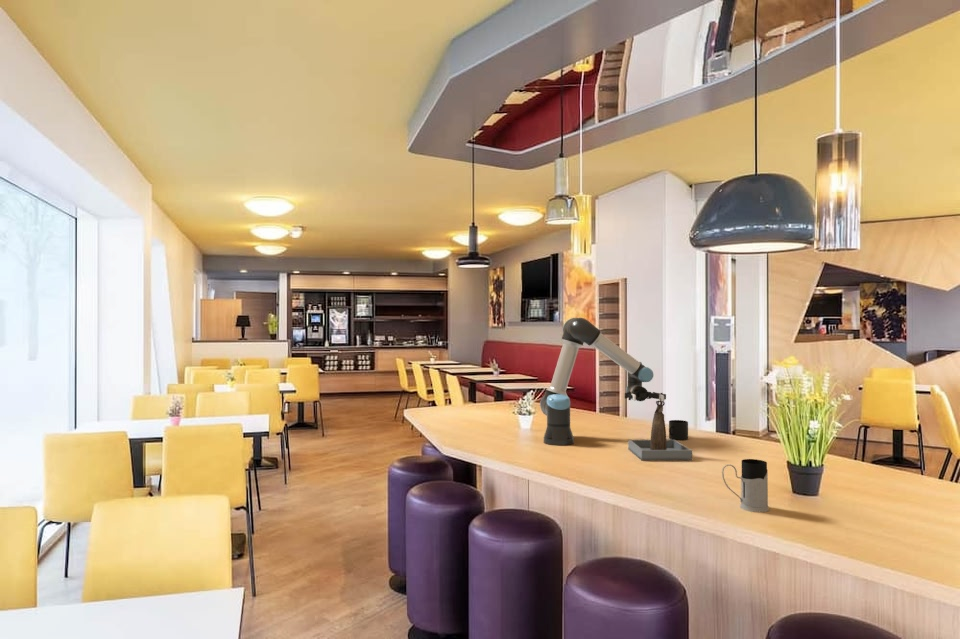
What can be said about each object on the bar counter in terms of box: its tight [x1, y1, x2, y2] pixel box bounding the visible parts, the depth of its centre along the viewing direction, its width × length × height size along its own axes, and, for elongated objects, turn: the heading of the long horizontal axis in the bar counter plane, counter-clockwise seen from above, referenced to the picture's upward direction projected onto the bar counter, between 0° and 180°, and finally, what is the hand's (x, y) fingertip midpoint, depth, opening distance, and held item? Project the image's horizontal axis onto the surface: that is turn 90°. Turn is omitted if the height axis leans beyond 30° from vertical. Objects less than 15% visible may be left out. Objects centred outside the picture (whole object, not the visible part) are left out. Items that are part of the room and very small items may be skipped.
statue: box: [650, 398, 667, 450], centre depth 275 cm, size 9×8×25 cm
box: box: [627, 439, 693, 462], centre depth 275 cm, size 22×24×4 cm
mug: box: [668, 419, 689, 442], centre depth 312 cm, size 9×12×9 cm
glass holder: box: [721, 458, 770, 513], centre depth 196 cm, size 9×14×15 cm, turn 80°
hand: (649, 398), depth 291 cm, fingers open, 13 cm apart
